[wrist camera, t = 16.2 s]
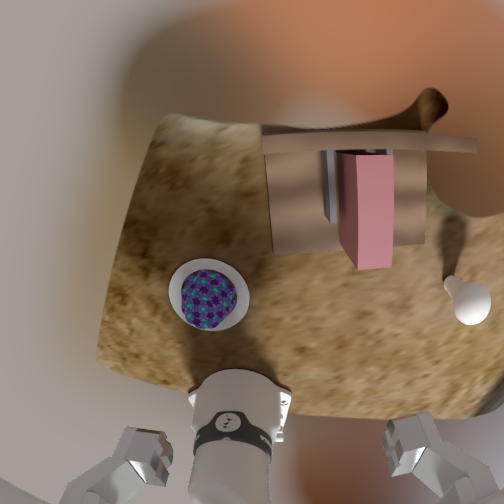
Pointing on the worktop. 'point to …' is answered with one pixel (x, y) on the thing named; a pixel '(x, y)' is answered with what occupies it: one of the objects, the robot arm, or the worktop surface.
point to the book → (366, 207)
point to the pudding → (208, 295)
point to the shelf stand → (326, 182)
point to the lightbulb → (468, 300)
